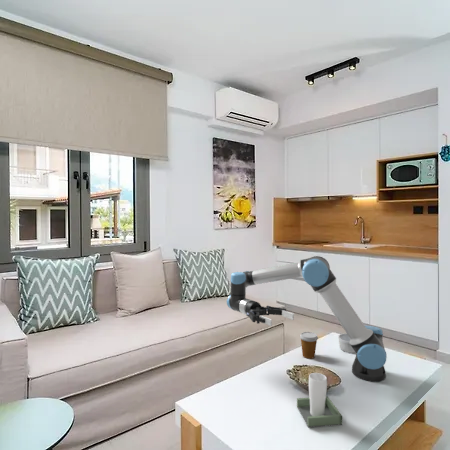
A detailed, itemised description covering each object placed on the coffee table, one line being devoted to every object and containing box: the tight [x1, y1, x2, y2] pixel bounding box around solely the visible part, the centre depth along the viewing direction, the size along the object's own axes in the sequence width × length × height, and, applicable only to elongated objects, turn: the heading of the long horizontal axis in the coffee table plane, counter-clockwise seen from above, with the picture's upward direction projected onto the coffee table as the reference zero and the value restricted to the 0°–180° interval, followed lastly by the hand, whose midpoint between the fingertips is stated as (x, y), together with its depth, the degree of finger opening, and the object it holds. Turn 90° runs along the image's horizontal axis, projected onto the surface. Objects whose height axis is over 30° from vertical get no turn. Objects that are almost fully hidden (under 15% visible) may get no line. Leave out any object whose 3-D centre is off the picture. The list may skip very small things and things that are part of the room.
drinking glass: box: [308, 372, 328, 416], centre depth 129 cm, size 7×7×15 cm
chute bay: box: [296, 395, 343, 429], centre depth 129 cm, size 13×13×4 cm
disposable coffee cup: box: [299, 331, 319, 360], centre depth 181 cm, size 10×10×12 cm
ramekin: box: [338, 333, 356, 354], centre depth 190 cm, size 13×13×7 cm
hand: (282, 319), depth 145 cm, fingers open, 13 cm apart
